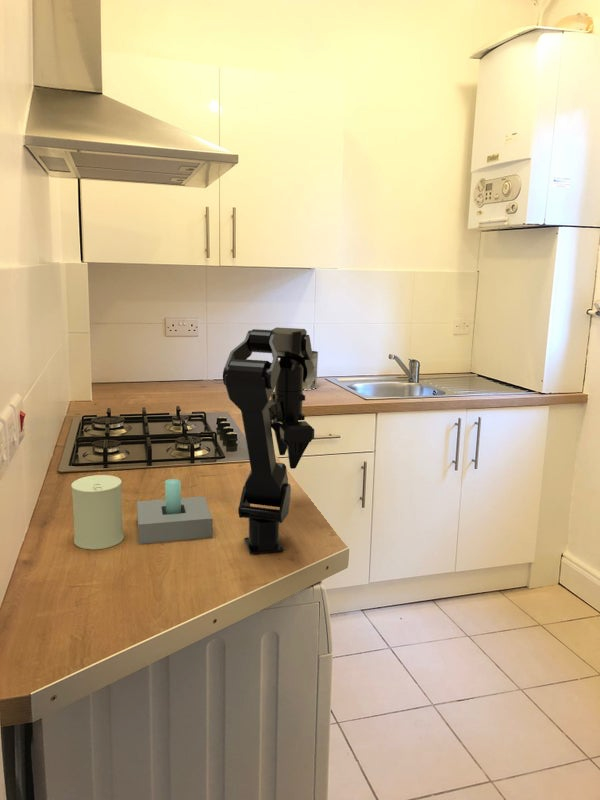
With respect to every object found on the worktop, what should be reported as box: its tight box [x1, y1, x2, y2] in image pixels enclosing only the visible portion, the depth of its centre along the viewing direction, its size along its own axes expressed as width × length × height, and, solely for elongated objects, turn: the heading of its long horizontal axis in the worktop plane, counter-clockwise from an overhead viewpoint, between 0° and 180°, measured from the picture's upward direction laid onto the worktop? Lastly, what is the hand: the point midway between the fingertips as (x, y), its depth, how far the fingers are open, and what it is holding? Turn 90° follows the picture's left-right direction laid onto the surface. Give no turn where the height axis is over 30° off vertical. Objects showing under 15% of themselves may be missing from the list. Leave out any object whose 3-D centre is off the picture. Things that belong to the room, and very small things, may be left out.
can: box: [70, 474, 125, 550], centre depth 123 cm, size 9×9×12 cm
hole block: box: [136, 495, 213, 545], centre depth 130 cm, size 12×14×4 cm
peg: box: [164, 478, 182, 515], centre depth 129 cm, size 3×3×10 cm
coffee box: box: [303, 350, 319, 390], centre depth 268 cm, size 9×6×16 cm
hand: (287, 461), depth 136 cm, fingers open, 9 cm apart
